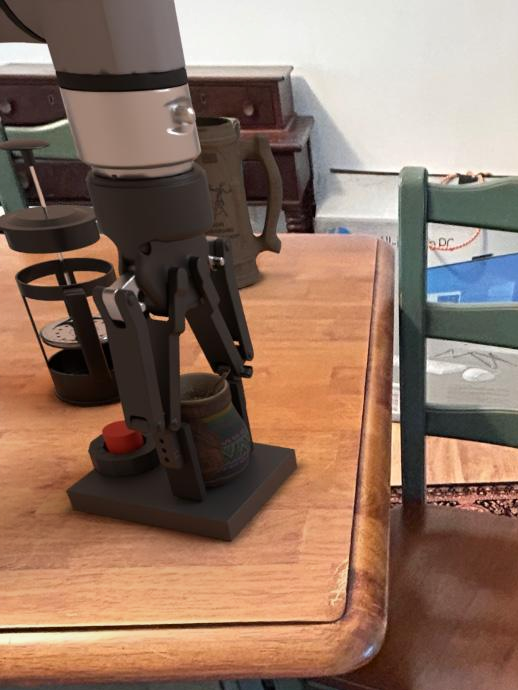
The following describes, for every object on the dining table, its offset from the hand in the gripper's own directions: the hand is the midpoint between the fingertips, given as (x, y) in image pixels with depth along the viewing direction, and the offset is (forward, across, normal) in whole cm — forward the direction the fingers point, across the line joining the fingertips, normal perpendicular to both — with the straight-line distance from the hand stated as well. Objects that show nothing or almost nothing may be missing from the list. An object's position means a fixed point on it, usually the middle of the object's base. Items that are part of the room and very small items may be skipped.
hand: (215, 471), depth 63 cm
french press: (+2, +14, +23) cm, 27 cm away
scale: (+2, 0, +3) cm, 4 cm away
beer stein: (+2, +52, +27) cm, 59 cm away
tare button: (-1, 0, +8) cm, 9 cm away
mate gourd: (0, 0, 0) cm, 1 cm away
